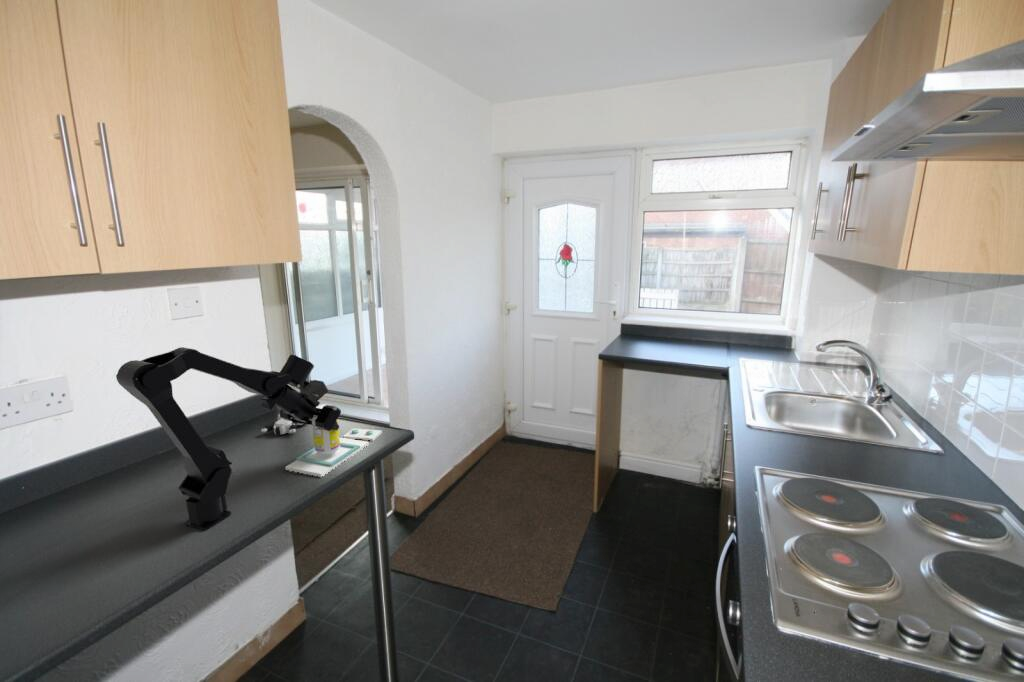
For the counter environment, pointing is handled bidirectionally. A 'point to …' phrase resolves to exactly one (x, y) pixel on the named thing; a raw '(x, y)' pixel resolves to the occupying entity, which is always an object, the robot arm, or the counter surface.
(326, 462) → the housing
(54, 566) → the counter surface
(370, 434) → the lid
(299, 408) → the robot arm
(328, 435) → the supplement bottle
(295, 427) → the robot toy
